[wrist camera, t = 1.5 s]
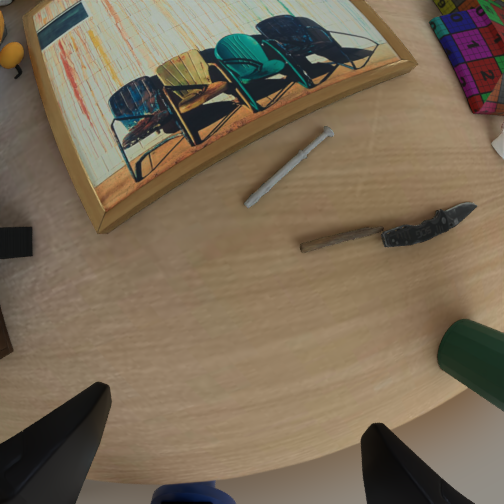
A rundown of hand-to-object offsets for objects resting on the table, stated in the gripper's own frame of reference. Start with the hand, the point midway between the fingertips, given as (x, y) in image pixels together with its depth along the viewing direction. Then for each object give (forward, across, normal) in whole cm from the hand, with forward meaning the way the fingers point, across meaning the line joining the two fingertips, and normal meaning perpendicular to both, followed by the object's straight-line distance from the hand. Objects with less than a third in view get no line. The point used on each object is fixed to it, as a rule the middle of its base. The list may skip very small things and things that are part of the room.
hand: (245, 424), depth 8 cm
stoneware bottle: (+13, -23, +4) cm, 26 cm away
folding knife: (+16, -15, -8) cm, 23 cm away
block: (+23, -22, -31) cm, 44 cm away
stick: (+15, -6, -2) cm, 16 cm away
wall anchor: (+16, -1, -8) cm, 18 cm away
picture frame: (+20, +10, -20) cm, 30 cm away
